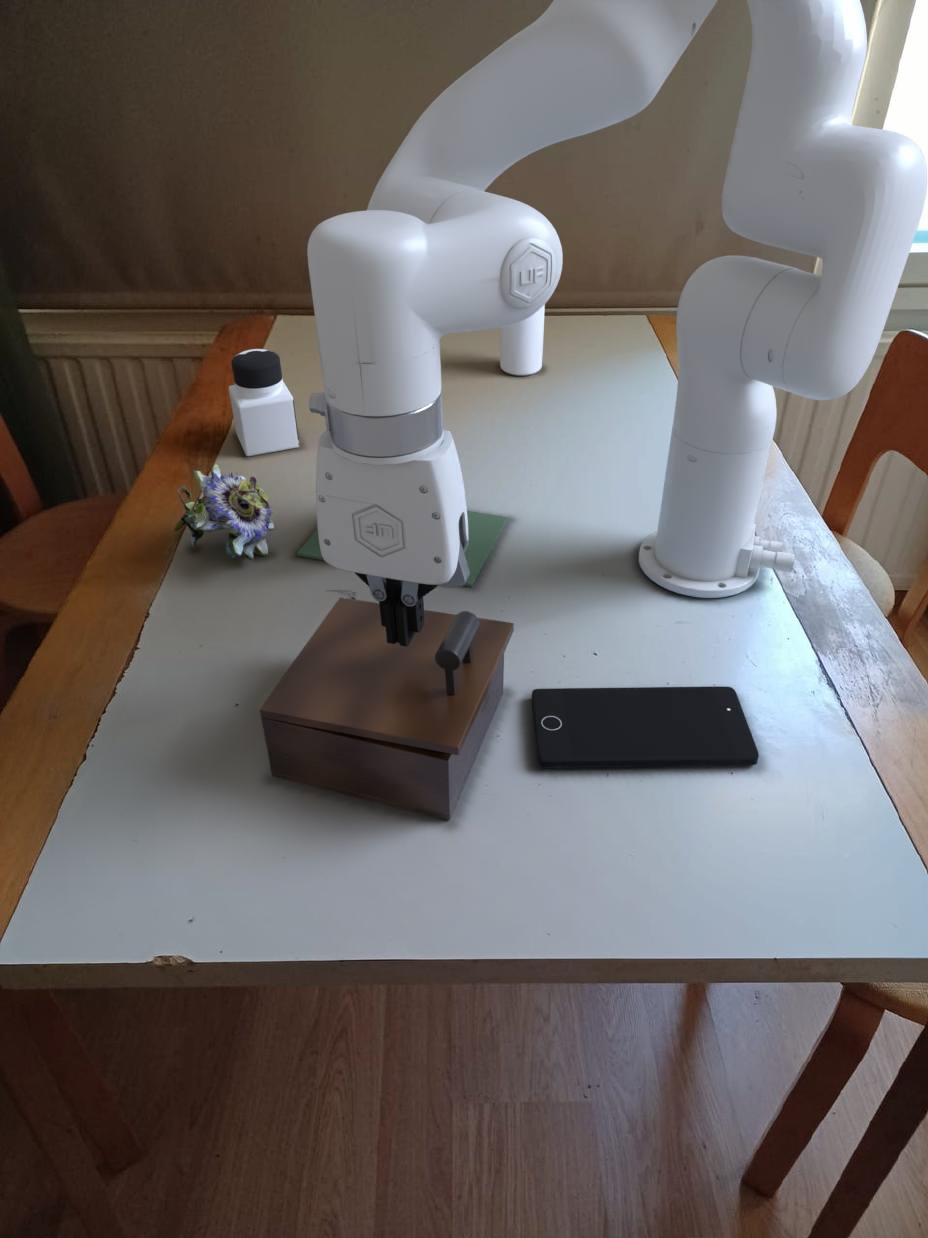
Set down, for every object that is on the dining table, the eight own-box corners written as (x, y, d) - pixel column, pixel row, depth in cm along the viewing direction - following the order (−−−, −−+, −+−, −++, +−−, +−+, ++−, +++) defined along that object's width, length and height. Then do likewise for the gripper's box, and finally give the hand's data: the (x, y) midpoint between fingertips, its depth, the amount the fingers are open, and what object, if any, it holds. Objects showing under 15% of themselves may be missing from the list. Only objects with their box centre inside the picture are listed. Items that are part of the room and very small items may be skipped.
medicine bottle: (300, 448, 120) (289, 360, 112) (246, 457, 118) (231, 368, 110) (288, 426, 125) (276, 340, 118) (236, 434, 123) (221, 348, 116)
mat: (507, 520, 105) (507, 517, 105) (471, 587, 94) (471, 584, 94) (348, 494, 110) (347, 491, 110) (297, 555, 99) (296, 552, 99)
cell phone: (530, 696, 81) (531, 688, 80) (732, 693, 81) (734, 685, 80) (538, 769, 74) (538, 761, 73) (759, 766, 74) (761, 758, 73)
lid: (514, 630, 77) (513, 578, 73) (458, 755, 65) (454, 700, 62) (341, 604, 81) (332, 554, 78) (260, 717, 69) (247, 664, 66)
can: (494, 363, 142) (495, 285, 135) (533, 358, 144) (536, 281, 136) (508, 379, 137) (510, 299, 130) (548, 373, 139) (552, 294, 132)
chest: (503, 693, 81) (504, 636, 77) (449, 820, 70) (448, 761, 66) (347, 661, 85) (340, 604, 81) (272, 777, 73) (260, 717, 69)
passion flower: (266, 593, 103) (261, 555, 92) (168, 579, 102) (151, 539, 90) (281, 502, 106) (278, 455, 95) (187, 488, 105) (172, 439, 94)
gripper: (256, 430, 59) (296, 647, 70) (478, 459, 55) (481, 683, 66) (306, 383, 64) (336, 591, 76) (510, 406, 60) (509, 621, 72)
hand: (404, 633), depth 71 cm, fingers closed
